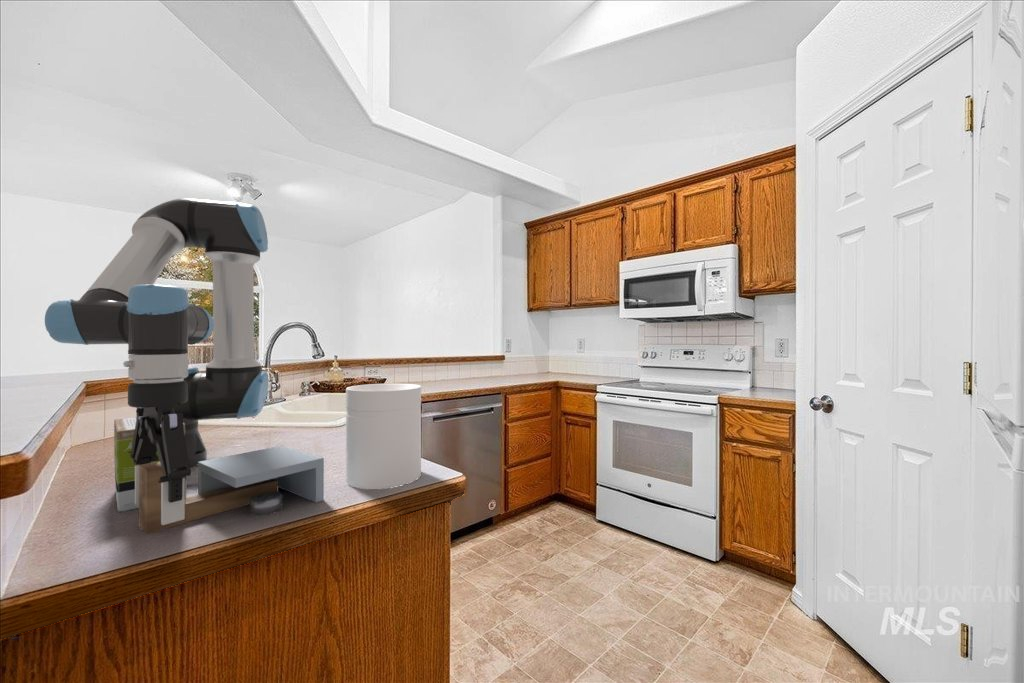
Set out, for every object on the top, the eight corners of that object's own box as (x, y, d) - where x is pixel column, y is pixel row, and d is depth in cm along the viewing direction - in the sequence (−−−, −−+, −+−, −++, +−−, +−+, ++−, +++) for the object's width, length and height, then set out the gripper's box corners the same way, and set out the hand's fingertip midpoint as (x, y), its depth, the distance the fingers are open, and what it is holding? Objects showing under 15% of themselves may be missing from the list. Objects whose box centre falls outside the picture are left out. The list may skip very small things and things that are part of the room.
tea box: (113, 491, 85) (113, 417, 85) (176, 480, 92) (176, 412, 92) (115, 513, 74) (116, 429, 74) (187, 498, 81) (187, 421, 81)
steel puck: (244, 511, 75) (244, 497, 75) (274, 503, 80) (274, 489, 80) (257, 518, 73) (257, 504, 73) (287, 509, 77) (287, 495, 77)
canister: (436, 473, 97) (436, 385, 97) (379, 495, 83) (379, 393, 83) (388, 462, 105) (388, 382, 105) (330, 480, 92) (330, 388, 92)
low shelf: (198, 505, 78) (198, 461, 78) (281, 483, 90) (281, 445, 90) (235, 528, 68) (235, 478, 68) (323, 500, 81) (323, 457, 81)
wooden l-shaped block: (139, 527, 69) (139, 465, 69) (268, 491, 85) (268, 441, 85) (146, 533, 66) (146, 469, 66) (278, 496, 83) (278, 444, 83)
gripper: (108, 378, 73) (107, 501, 73) (154, 387, 59) (153, 540, 59) (162, 375, 80) (162, 489, 79) (216, 383, 65) (216, 522, 65)
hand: (158, 511), depth 69 cm, fingers open, 13 cm apart
